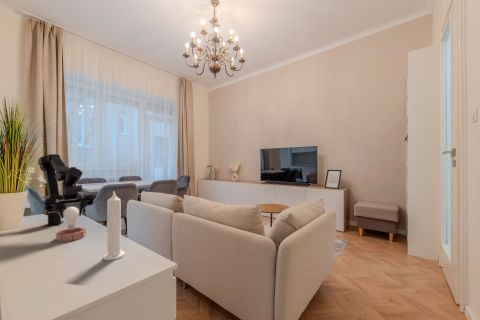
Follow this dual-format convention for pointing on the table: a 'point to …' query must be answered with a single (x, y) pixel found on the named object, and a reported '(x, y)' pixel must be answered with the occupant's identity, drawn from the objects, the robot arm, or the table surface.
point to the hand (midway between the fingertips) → (71, 216)
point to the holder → (70, 234)
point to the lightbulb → (71, 216)
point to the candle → (114, 229)
